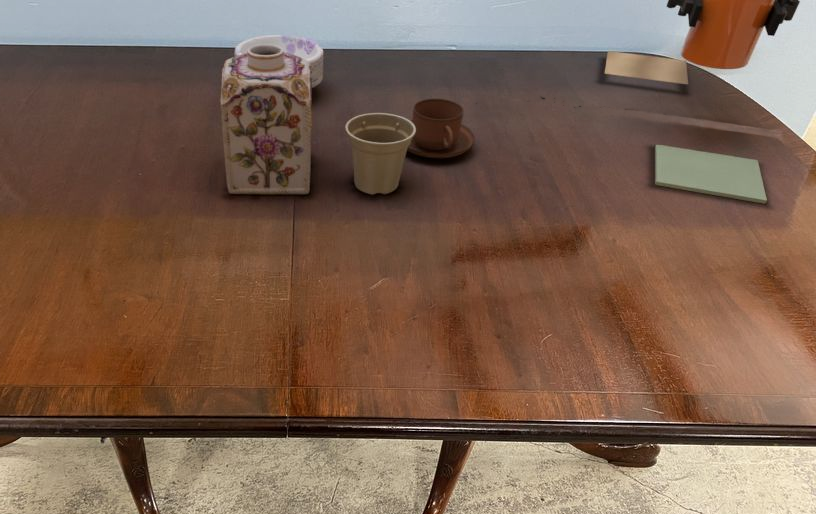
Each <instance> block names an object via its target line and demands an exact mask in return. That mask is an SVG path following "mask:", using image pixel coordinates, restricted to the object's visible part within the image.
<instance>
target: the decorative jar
mask: <svg viewBox="0 0 816 514" xmlns="http://www.w3.org/2000/svg"><path fill="white" fill-rule="evenodd" d="M311 74H312V71H311V65H310V62H309V61H307V60H305V59H303V58H301V57H298V56H296V55H292V54H290V53H286V52H284V51H283V49H282V48H281V47H279V46H276V45H270V44H260V45H255V46H253V47H250V48H249V49H248V50H247V53H246V54H242V55H237V56H235V55H234V56H233V57H230V58H227V59H226V60H225V61H224V64H223V67H222V69H221V80H220V83H221V87H220V101H219V102H218V103H219V105H220V112H221V126H222V140H223V154H224V165H225V166H224V167H225V175H226V176H225V177H226V186H227V190H228V193H229V194H230V195H308V194H309V193H310V188H311V187H310V185H311V161H312V160H311V157H312V153H311V151H312V150H311V149H312V147H311V140H312V133H313V125H314V120H313V117H312V116H313V115H312V99H313V97H312V94H313V88H312V77H311Z"/></svg>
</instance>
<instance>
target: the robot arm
mask: <svg viewBox="0 0 816 514" xmlns="http://www.w3.org/2000/svg"><path fill="white" fill-rule="evenodd" d="M800 3H801V1H800V0H776V1H775V3H774V6H773V8H772V10H771V12H770V15H769V17H768V19H767V21H766V24H765V26H764V29H765V32H766V34H767V36H771V37H775V35H776V33H777V31H778V28H779V27H780V25H782V24H783V23H784V21H786V22H789V21H793V18H794V16H795V14H796V11H797V9H798V7H799V5H800ZM677 6H678V7H679V10H678V12H677V15H678V16H679V17H686V16H687V19H688V28H690V27H695V26H696V23H697V20H698V18H699V15H700V12H701V10H702V7H703V5H702V0H668V1H667V3H666V8H668V9H674V8H676V7H677Z"/></svg>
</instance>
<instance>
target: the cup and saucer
mask: <svg viewBox="0 0 816 514" xmlns="http://www.w3.org/2000/svg"><path fill="white" fill-rule="evenodd" d="M463 116H464V108H463V106H462V105H460V104H459V103H458V102H455V101H453V100H451V99H450V100H449V99H445V98H426V99H421V100H419V101H418V102H416V103H415V104H414V105H413V110H412V119H411V120H410V121H411V122H412V123H413V124H414V125H415V127H416V133H415V135H414V137H413V138H412V139H411V143H410V145H409V146H408V148H407V151H406V152H408V153H411V154H413V155H415V156H419V157H422V158H427V159H450V158H455V157H457V156H461V155H463V154H465V153H466V152H468V151H469V150H470V149H471V148H472V147H473V145H474V143H475V139H476V138H475V135H474V133H473V131H472V130H471V129H470V128H468V127H467V126H466V125H463V124H462V121H463Z"/></svg>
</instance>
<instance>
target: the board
mask: <svg viewBox="0 0 816 514" xmlns="http://www.w3.org/2000/svg"><path fill="white" fill-rule="evenodd" d="M604 74H605V75H613V76H619V77H627V78H636V79H643V80H650V81H658V82H664V83H665V82H667V83H674V84H681V85H689V77H688V66H687V60H686V59H677V58H668V57H660V56H651V55H645V54H635V53H630V52H629V53H628V52H621V51H612V50H607V54H606V62H605V67H604Z"/></svg>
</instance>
